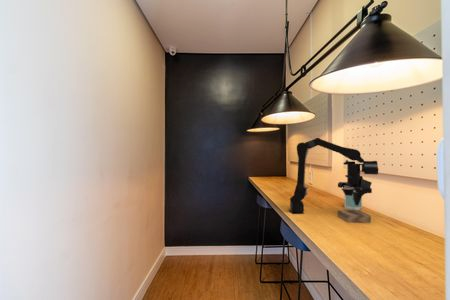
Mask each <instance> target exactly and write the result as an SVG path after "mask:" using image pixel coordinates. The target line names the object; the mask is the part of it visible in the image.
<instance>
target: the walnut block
mask: <svg viewBox="0 0 450 300" xmlns="http://www.w3.org/2000/svg"><path fill="white" fill-rule="evenodd" d="M337 217H338V218H339V219H341V220H343V221H344V222H346V223H348V224H351V223H353V224H355V223H356V224H357V223H358V224H362V223H363V224H371V222H372V221H371V220H372V215H371V214H368V213H366V212H363V211H361V209H360V210H350V209H337Z"/></svg>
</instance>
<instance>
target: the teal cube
mask: <svg viewBox="0 0 450 300" xmlns="http://www.w3.org/2000/svg"><path fill="white" fill-rule="evenodd" d="M362 199H363V196H362V197H361V200H362ZM361 200H360V202H359V204H358V205H356V204H355V201H354V197H353V195H346V205H347V206H350V207H361Z"/></svg>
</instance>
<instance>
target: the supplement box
mask: <svg viewBox="0 0 450 300" xmlns="http://www.w3.org/2000/svg"><path fill="white" fill-rule="evenodd" d="M353 192H356V191H355V190H354V191H353ZM352 195H353V194H352ZM362 207H363V206H362V200H361V207H350V206H347V205H346V196H345V195H344V210H360V211H361V210H362Z"/></svg>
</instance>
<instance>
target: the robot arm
mask: <svg viewBox="0 0 450 300" xmlns="http://www.w3.org/2000/svg"><path fill="white" fill-rule="evenodd" d="M318 146H320V147H322V148H323V149H324V148H325V149H327V150H331V151H333V152H335V153H337V154H340V155H342V156H343V157H345V158H347V159H346V160H345V162H343V165H346V166H347V168H346V169H347V171H346V172H347V174H345V178H347V181H338V183H337V188H340V189H341V190H342V192H343V194H344V197H345V196H346V195H352V194H353V197H354V201H355V204H356V205H358V204H359V202H360V200H361V197H362V198H363V196H364V195H366V194H373V191H372V190H373V189H372V188H371V186H372V183H373V182H372V181H369V180H366V179H364V178H363V176H362V175H361V173H363V174H364V175H374V176H375V175H376V176H377V175H379V167H378V166H379V165H378V160H365V159H364V158H363V157H362V156H361V154H362V153H361V152H360V151H359V150H358V149H356V148H352V147H351V148H349V147H345V146H342V145H339V144H336V143H332V142H329V141H327V140H324V139H321V138H319V137H316V138H314V139H312V140H308V141H306V142H299V143H297V144H296V154H297V158H298V163H297V178H296V179H297V180H296V181H297V182H296V185H295V190H294V193H293V195H292V196H291V197H290V198H289V200H290V201H289V203H290V204H289V207H290V208H289V212H290V213H291V214H292V215H293V214H295V215H297V214H300V215H301V214H305V209H304V208H305V207H304V206H305V204H304V202H303V200H304V199H305V197H306V196H307V195H308V186H306V184H305V181H306V167H307V166H306V165H307V164H306V163H307V156H308V153H309V151H310V150H311V149H313V148H315V147H318ZM348 159H349V160H350V161H349V160H348ZM356 162H358V163H356ZM354 190H355V191H356V192H353V191H354Z"/></svg>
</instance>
